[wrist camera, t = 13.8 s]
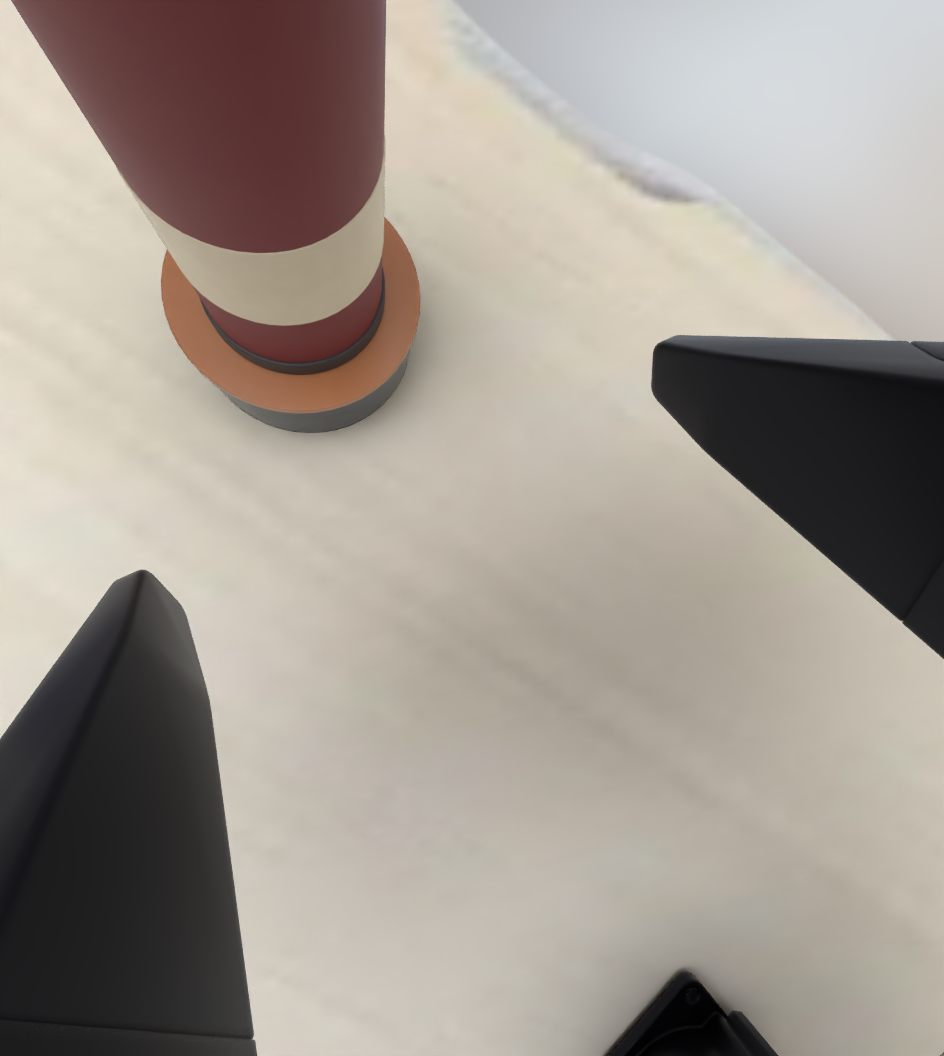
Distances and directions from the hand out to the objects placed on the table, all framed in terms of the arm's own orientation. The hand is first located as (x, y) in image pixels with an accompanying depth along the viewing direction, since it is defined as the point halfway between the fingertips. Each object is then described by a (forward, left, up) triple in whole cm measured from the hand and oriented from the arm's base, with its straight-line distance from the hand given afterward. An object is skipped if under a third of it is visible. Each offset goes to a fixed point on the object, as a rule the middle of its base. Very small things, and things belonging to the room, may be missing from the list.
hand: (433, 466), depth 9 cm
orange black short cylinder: (+2, +8, -11) cm, 13 cm away
